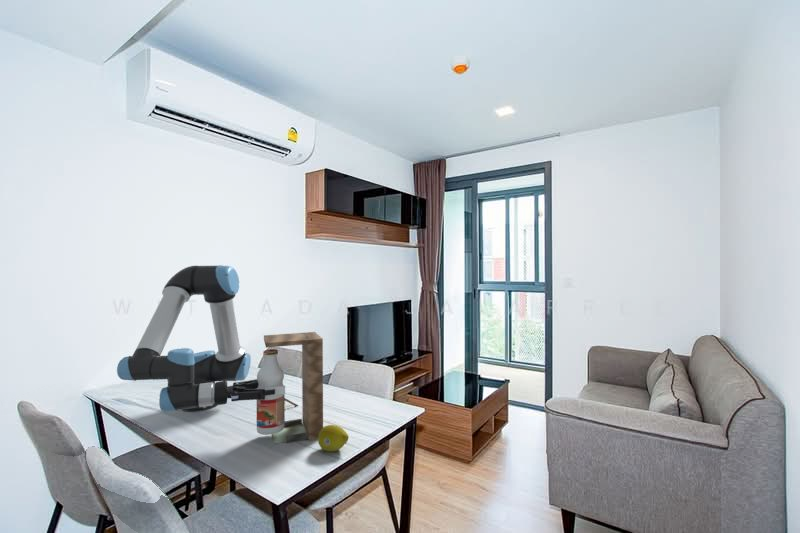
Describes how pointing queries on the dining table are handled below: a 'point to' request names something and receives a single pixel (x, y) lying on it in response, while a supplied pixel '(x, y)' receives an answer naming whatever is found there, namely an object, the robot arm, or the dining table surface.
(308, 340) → the shelf
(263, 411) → the fruit juice
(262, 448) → the dining table surface
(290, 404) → the chocolate bar
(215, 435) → the dining table surface
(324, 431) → the lemon
